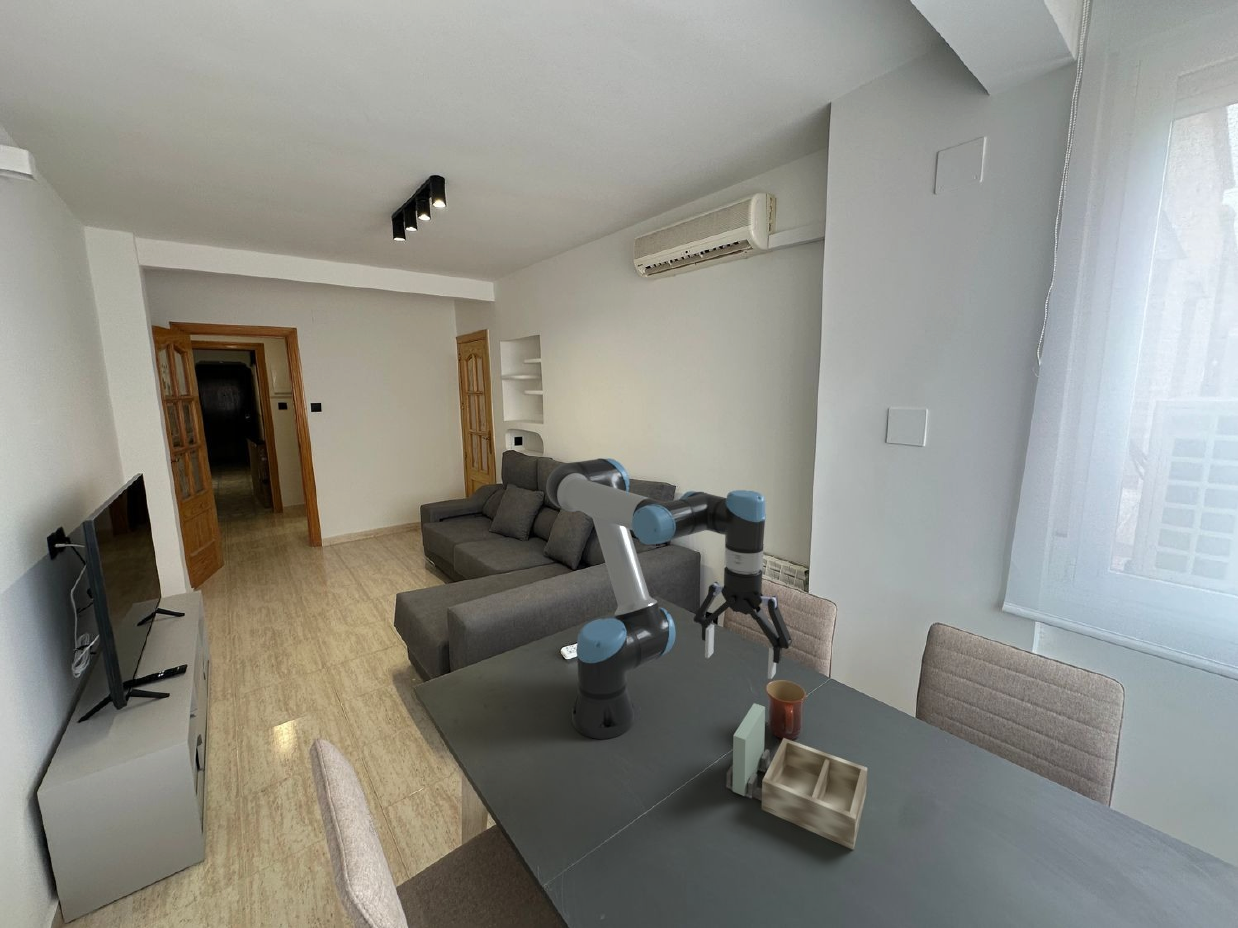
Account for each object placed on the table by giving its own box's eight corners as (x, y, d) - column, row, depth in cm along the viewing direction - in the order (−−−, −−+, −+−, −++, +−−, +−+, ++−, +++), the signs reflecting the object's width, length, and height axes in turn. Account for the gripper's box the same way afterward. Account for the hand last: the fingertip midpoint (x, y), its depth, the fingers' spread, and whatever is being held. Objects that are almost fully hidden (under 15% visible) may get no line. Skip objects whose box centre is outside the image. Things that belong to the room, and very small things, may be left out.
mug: (763, 717, 123) (764, 678, 121) (801, 721, 121) (802, 681, 119) (767, 751, 111) (768, 708, 109) (809, 756, 109) (811, 713, 108)
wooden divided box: (723, 792, 100) (723, 764, 99) (747, 750, 112) (748, 725, 111) (853, 849, 87) (855, 818, 86) (865, 795, 99) (867, 767, 98)
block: (729, 789, 100) (730, 734, 98) (750, 753, 110) (751, 702, 108) (744, 796, 98) (745, 739, 96) (763, 758, 108) (765, 706, 106)
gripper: (679, 560, 106) (677, 654, 109) (801, 588, 92) (795, 694, 95) (695, 551, 112) (693, 640, 116) (812, 575, 98) (805, 675, 102)
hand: (739, 665), depth 106 cm, fingers open, 13 cm apart
